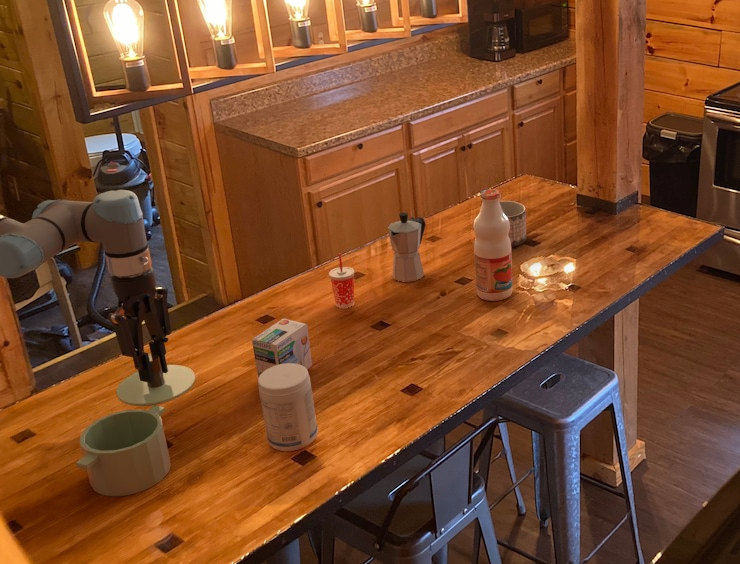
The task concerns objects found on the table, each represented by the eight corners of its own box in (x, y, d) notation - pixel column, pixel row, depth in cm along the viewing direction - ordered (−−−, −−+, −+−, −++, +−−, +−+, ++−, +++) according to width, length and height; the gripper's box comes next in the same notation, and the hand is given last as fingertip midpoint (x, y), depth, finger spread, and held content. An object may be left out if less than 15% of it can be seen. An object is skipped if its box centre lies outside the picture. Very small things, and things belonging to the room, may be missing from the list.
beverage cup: (327, 304, 239) (321, 254, 234) (348, 296, 244) (342, 246, 238) (342, 312, 236) (336, 261, 230) (362, 303, 240) (357, 253, 234)
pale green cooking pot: (61, 496, 171) (49, 452, 167) (139, 437, 187) (130, 396, 184) (122, 512, 167) (111, 468, 163) (196, 451, 183) (188, 409, 180)
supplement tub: (297, 419, 193) (288, 356, 187) (328, 435, 188) (320, 371, 182) (257, 442, 186) (246, 378, 180) (288, 459, 181) (278, 394, 175)
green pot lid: (100, 401, 187) (92, 369, 184) (154, 364, 200) (147, 334, 197) (160, 414, 183) (153, 382, 180) (211, 376, 196) (205, 346, 193)
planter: (531, 235, 280) (531, 203, 276) (518, 253, 269) (517, 219, 264) (491, 231, 283) (489, 199, 278) (476, 248, 271) (474, 214, 267)
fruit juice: (484, 283, 251) (479, 184, 240) (518, 288, 249) (514, 187, 237) (470, 299, 243) (465, 196, 231) (505, 304, 240) (501, 200, 229)
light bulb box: (282, 389, 204) (275, 345, 199) (257, 382, 206) (250, 339, 201) (313, 365, 213) (308, 322, 208) (289, 359, 215) (283, 317, 211)
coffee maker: (408, 288, 248) (402, 224, 241) (380, 281, 251) (374, 219, 244) (440, 266, 260) (436, 205, 253) (413, 260, 264) (409, 200, 256)
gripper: (114, 291, 173) (139, 400, 182) (177, 256, 187) (197, 359, 196) (81, 285, 175) (108, 393, 184) (146, 251, 189) (168, 353, 199)
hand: (154, 375), depth 190 cm, fingers closed on green pot lid, 3 cm apart
